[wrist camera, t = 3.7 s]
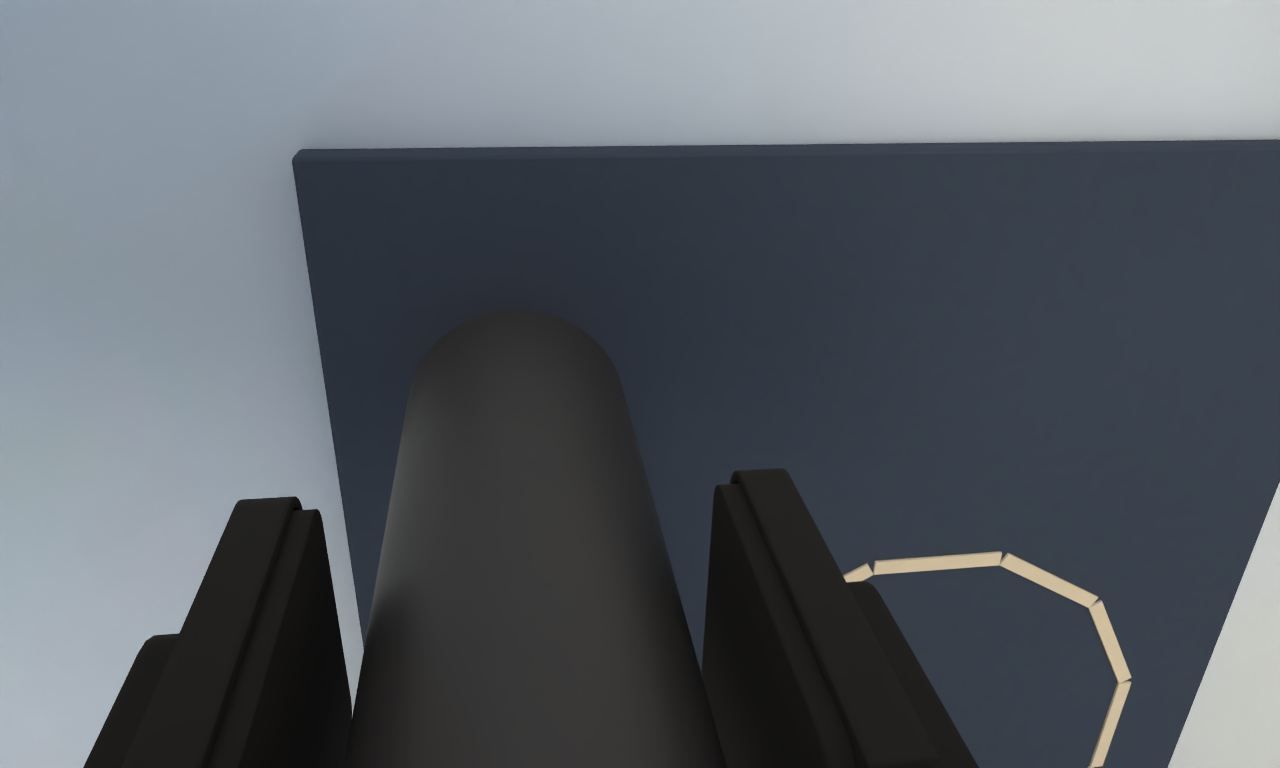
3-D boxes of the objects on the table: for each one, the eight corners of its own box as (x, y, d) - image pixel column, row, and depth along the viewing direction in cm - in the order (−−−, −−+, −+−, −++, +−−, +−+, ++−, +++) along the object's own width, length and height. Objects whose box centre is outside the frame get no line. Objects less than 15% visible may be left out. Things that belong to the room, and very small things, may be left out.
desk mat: (297, 148, 14) (289, 158, 13) (1382, 137, 16) (1416, 146, 15) (423, 1024, 23) (422, 1053, 23) (1081, 935, 26) (1096, 959, 25)
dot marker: (405, 282, 14) (210, 1106, 4) (614, 276, 14) (863, 1010, 5) (422, 462, 15) (307, 1385, 6) (613, 452, 16) (802, 1293, 6)
